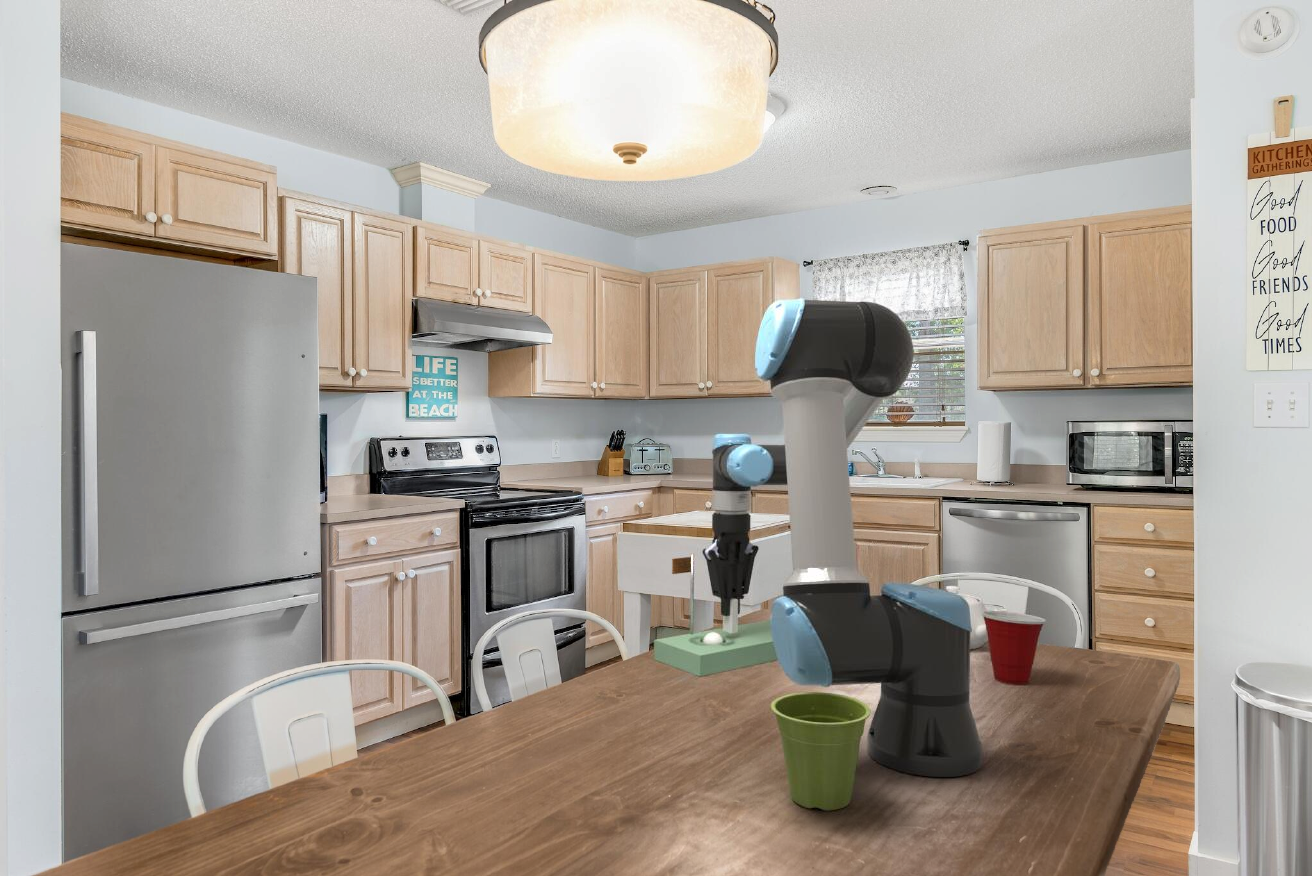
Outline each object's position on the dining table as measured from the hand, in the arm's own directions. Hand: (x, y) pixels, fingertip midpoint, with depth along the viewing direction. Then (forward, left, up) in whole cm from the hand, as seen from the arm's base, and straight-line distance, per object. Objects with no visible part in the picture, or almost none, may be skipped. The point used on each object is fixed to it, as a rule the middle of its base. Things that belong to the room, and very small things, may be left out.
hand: (730, 631), depth 168 cm
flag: (-7, +6, -1) cm, 9 cm away
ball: (-4, 0, -2) cm, 5 cm away
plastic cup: (+31, -41, -5) cm, 52 cm away
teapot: (+45, -20, -5) cm, 50 cm away
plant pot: (-35, -55, -5) cm, 65 cm away
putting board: (+2, 0, -5) cm, 6 cm away
